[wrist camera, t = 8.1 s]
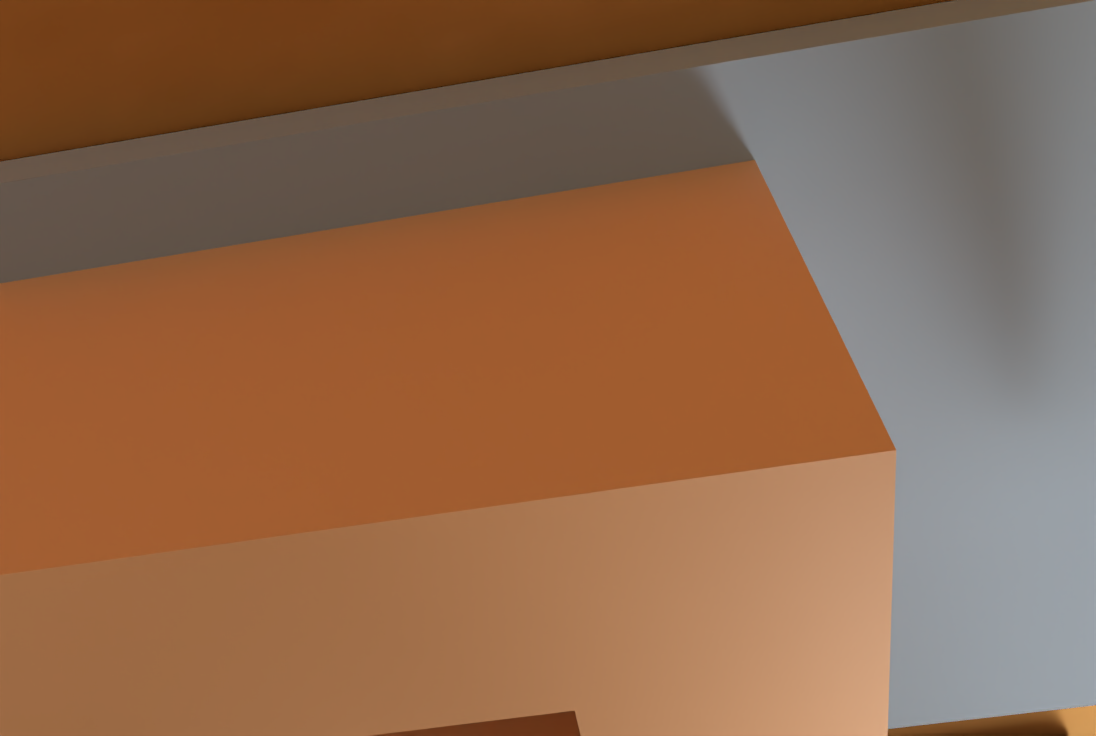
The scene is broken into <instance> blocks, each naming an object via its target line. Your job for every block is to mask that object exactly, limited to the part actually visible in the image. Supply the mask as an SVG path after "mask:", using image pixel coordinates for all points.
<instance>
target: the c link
mask: <svg viewBox="0 0 1096 736" xmlns="http://www.w3.org/2000/svg"><path fill="white" fill-rule="evenodd" d="M895 478H896V448H895V446H894V444H893V442H892V440H891V438H890V436H889V434H888V432H887V430H886V428H885V426H884V424H883V422H882V420H881V418H880V416H879V413H878V411H877V409H876V407H875V405H874V403H873V401H872V399H871V397H870V395H869V393H868V391H867V389H866V387H865V385H864V383H863V381H862V379H861V377H860V375H859V372H858V370H857V368H856V366H855V364H854V362H853V360H852V358H851V356H850V354H849V352H848V350H847V348H846V346H845V344H844V342H843V340H842V338H841V336H840V334H839V331H838V329H837V327H836V325H835V323H834V321H833V319H832V317H831V315H830V313H829V311H828V309H827V307H826V305H825V303H824V301H823V299H822V297H821V295H820V292H819V290H818V288H817V286H816V284H815V282H814V280H813V278H812V276H811V274H810V272H809V270H808V268H807V266H806V264H805V262H804V260H803V258H802V256H801V254H800V251H799V249H798V247H797V245H796V243H795V241H794V239H793V237H792V235H791V233H790V231H789V229H788V227H787V225H786V223H785V221H784V219H783V217H782V215H781V212H780V210H779V208H778V206H777V204H776V202H775V200H774V198H773V196H772V194H771V192H770V190H769V188H768V186H767V184H766V182H765V180H764V178H763V176H762V174H761V171H760V169H759V167H758V165H757V163H756V161H755V160H751V161H745V162H739V163H733V164H726V165H720V166H714V167H708V168H702V169H696V170H690V171H684V172H678V173H671V174H665V175H659V176H653V177H647V178H641V179H635V180H629V181H623V182H616V183H610V184H604V185H598V186H592V187H586V188H580V189H574V190H568V191H562V192H555V193H549V194H543V195H537V196H531V197H525V198H519V199H513V200H507V201H500V202H494V203H488V204H482V205H476V206H470V207H464V208H458V209H452V210H445V211H439V212H433V213H427V214H421V215H415V216H409V217H403V218H397V219H391V220H384V221H378V222H372V223H366V224H360V225H354V226H348V227H342V228H336V229H329V230H323V231H317V232H311V233H305V234H299V235H293V236H287V237H281V238H274V239H268V240H262V241H256V242H250V243H244V244H238V245H232V246H226V247H220V248H213V249H207V250H201V251H195V252H189V253H183V254H177V255H171V256H165V257H158V258H152V259H146V260H140V261H134V262H128V263H122V264H116V265H110V266H103V267H97V268H91V269H85V270H79V271H73V272H67V273H61V274H55V275H49V276H42V277H36V278H30V279H24V280H18V281H12V282H6V283H0V736H888V709H889V676H890V643H891V610H892V577H893V544H894V511H895Z"/></svg>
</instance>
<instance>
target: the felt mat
mask: <svg viewBox="0 0 1096 736" xmlns="http://www.w3.org/2000/svg"><path fill="white" fill-rule="evenodd" d="M751 160H755V161H756V163H757V165H758V167H759V169H760V171H761V174H762V176H763V178H764V180H765V182H766V184H767V186H768V188H769V190H770V192H771V194H772V196H773V198H774V200H775V202H776V204H777V206H778V208H779V210H780V212H781V215H782V217H783V219H784V221H785V223H786V225H787V227H788V229H789V231H790V233H791V235H792V237H793V239H794V241H795V243H796V245H797V247H798V249H799V251H800V254H801V256H802V258H803V260H804V262H805V264H806V266H807V268H808V270H809V272H810V274H811V276H812V278H813V280H814V282H815V284H816V286H817V288H818V290H819V292H820V295H821V297H822V299H823V301H824V303H825V305H826V307H827V309H828V311H829V313H830V315H831V317H832V319H833V321H834V323H835V325H836V327H837V329H838V331H839V334H840V336H841V338H842V340H843V342H844V344H845V346H846V348H847V350H848V352H849V354H850V356H851V358H852V360H853V362H854V364H855V366H856V368H857V370H858V372H859V375H860V377H861V379H862V381H863V383H864V385H865V387H866V389H867V391H868V393H869V395H870V397H871V399H872V401H873V403H874V405H875V407H876V409H877V411H878V413H879V416H880V418H881V420H882V422H883V424H884V426H885V428H886V430H887V432H888V434H889V436H890V438H891V440H892V442H893V444H894V446H895V448H896V478H895V511H894V544H893V577H892V610H891V643H890V676H889V709H888V729H893V728H902V727H910V726H919V725H928V724H936V723H945V722H954V721H962V720H971V719H980V718H989V717H997V716H1006V715H1015V714H1023V713H1032V712H1041V711H1049V710H1058V709H1067V708H1075V707H1084V706H1093V705H1096V0H953V1H947V2H941V3H935V4H929V5H923V6H917V7H912V8H906V9H900V10H894V11H888V12H882V13H876V14H870V15H864V16H858V17H852V18H847V19H841V20H835V21H829V22H823V23H817V24H811V25H805V26H799V27H793V28H787V29H781V30H776V31H770V32H764V33H758V34H752V35H746V36H740V37H734V38H728V39H722V40H716V41H711V42H705V43H699V44H693V45H687V46H681V47H675V48H669V49H663V50H657V51H651V52H646V53H640V54H634V55H628V56H622V57H616V58H610V59H604V60H598V61H592V62H586V63H580V64H575V65H569V66H563V67H557V68H551V69H545V70H539V71H533V72H527V73H521V74H515V75H510V76H504V77H498V78H492V79H486V80H480V81H474V82H468V83H462V84H456V85H450V86H445V87H439V88H433V89H427V90H421V91H415V92H409V93H403V94H397V95H391V96H385V97H380V98H374V99H368V100H362V101H356V102H350V103H344V104H338V105H332V106H326V107H320V108H314V109H309V110H303V111H297V112H291V113H285V114H279V115H273V116H267V117H261V118H255V119H249V120H244V121H238V122H232V123H226V124H220V125H214V126H208V127H202V128H196V129H190V130H184V131H179V132H173V133H167V134H161V135H155V136H149V137H143V138H137V139H131V140H125V141H119V142H113V143H108V144H102V145H96V146H90V147H84V148H78V149H72V150H66V151H60V152H54V153H48V154H43V155H37V156H31V157H25V158H19V159H13V160H7V161H1V162H0V283H6V282H12V281H18V280H24V279H30V278H36V277H42V276H49V275H55V274H61V273H67V272H73V271H79V270H85V269H91V268H97V267H103V266H110V265H116V264H122V263H128V262H134V261H140V260H146V259H152V258H158V257H165V256H171V255H177V254H183V253H189V252H195V251H201V250H207V249H213V248H220V247H226V246H232V245H238V244H244V243H250V242H256V241H262V240H268V239H274V238H281V237H287V236H293V235H299V234H305V233H311V232H317V231H323V230H329V229H336V228H342V227H348V226H354V225H360V224H366V223H372V222H378V221H384V220H391V219H397V218H403V217H409V216H415V215H421V214H427V213H433V212H439V211H445V210H452V209H458V208H464V207H470V206H476V205H482V204H488V203H494V202H500V201H507V200H513V199H519V198H525V197H531V196H537V195H543V194H549V193H555V192H562V191H568V190H574V189H580V188H586V187H592V186H598V185H604V184H610V183H616V182H623V181H629V180H635V179H641V178H647V177H653V176H659V175H665V174H671V173H678V172H684V171H690V170H696V169H702V168H708V167H714V166H720V165H726V164H733V163H739V162H745V161H751Z"/></svg>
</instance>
